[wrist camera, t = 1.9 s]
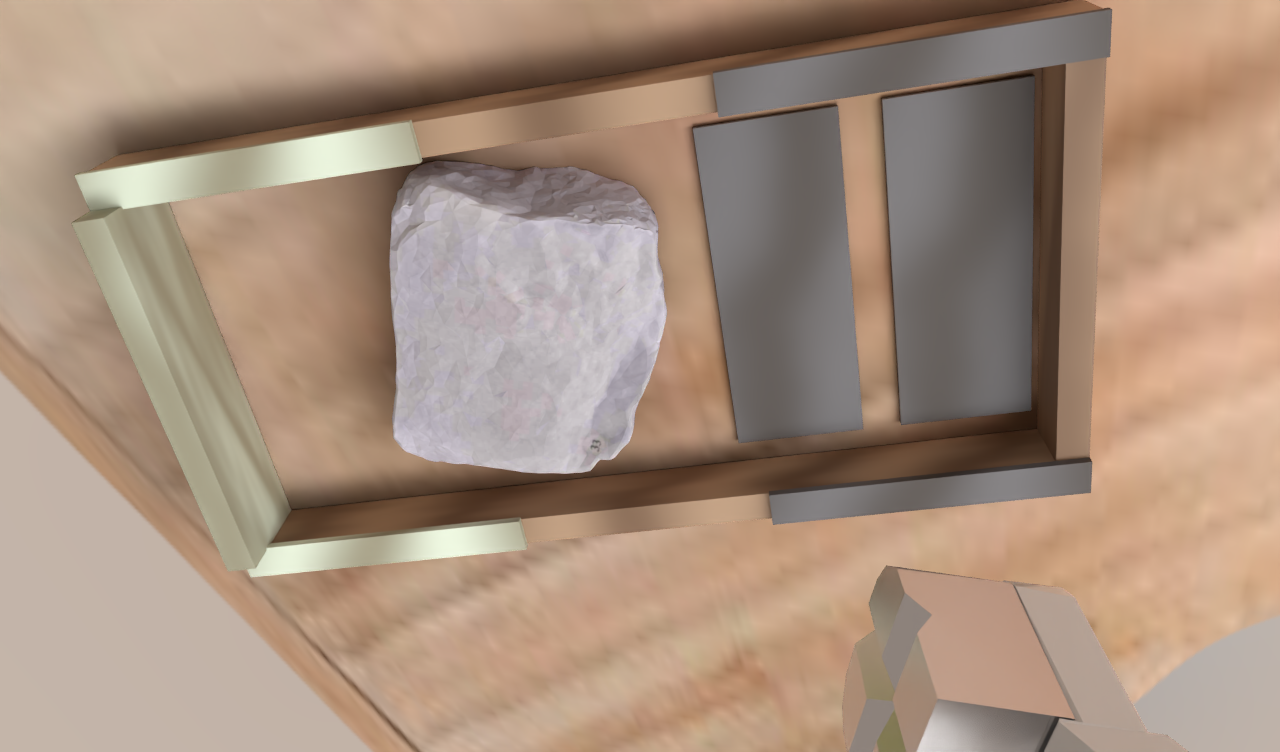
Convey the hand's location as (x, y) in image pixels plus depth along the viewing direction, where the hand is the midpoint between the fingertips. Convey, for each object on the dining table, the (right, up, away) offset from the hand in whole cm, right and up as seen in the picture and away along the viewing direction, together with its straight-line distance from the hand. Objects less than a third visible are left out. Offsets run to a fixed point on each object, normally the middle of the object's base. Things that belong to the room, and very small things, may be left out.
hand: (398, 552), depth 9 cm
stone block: (-2, +4, +31) cm, 32 cm away
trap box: (+1, +4, +30) cm, 31 cm away
